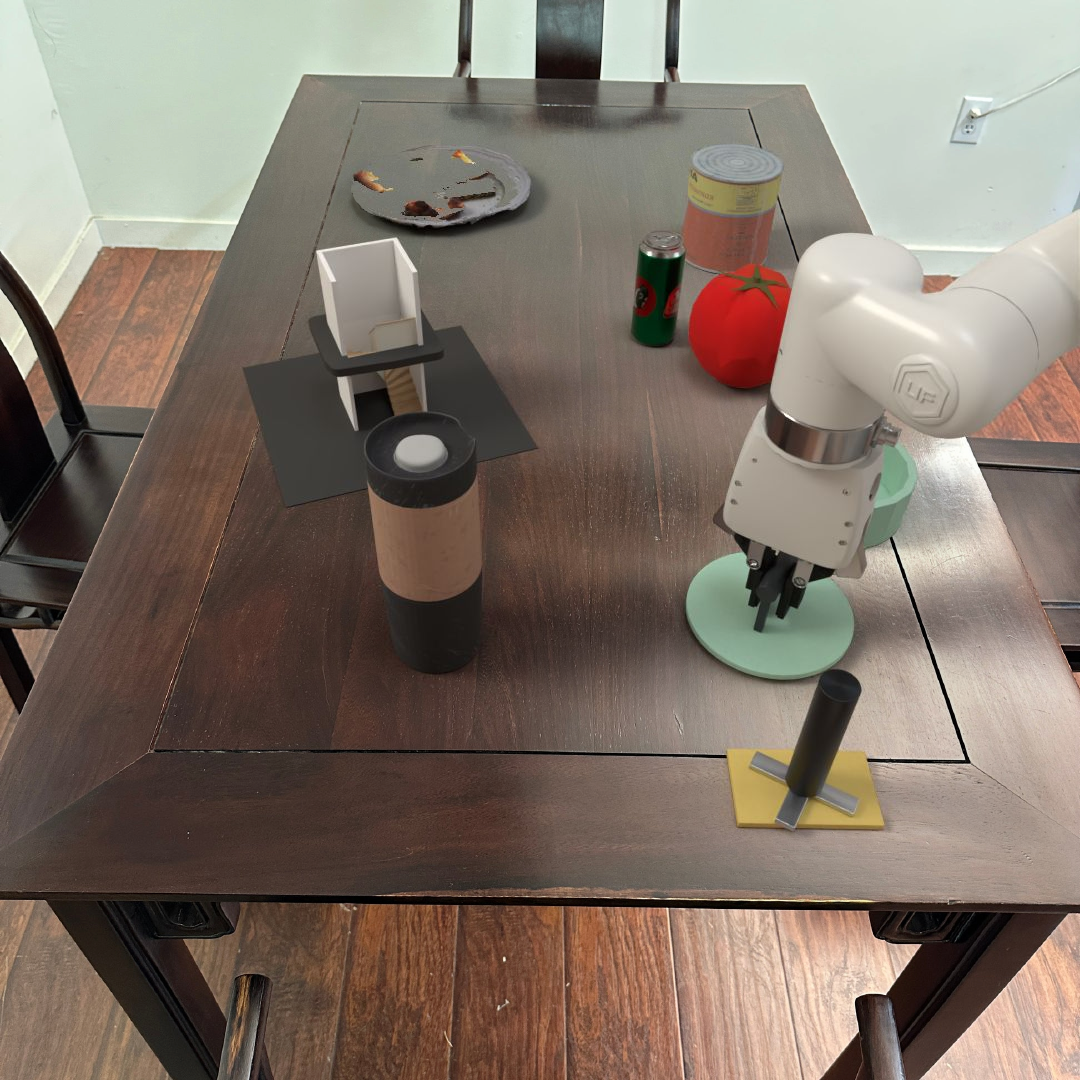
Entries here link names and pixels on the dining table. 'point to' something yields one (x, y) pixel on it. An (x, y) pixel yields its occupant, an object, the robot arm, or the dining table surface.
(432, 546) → the travel mug
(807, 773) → the black and grey rod
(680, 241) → the soda can
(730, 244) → the canned food
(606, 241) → the dining table surface
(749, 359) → the tomato
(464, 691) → the dining table surface
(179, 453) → the dining table surface
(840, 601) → the lid
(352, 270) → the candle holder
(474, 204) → the food plate
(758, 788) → the mat
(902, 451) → the bowl
